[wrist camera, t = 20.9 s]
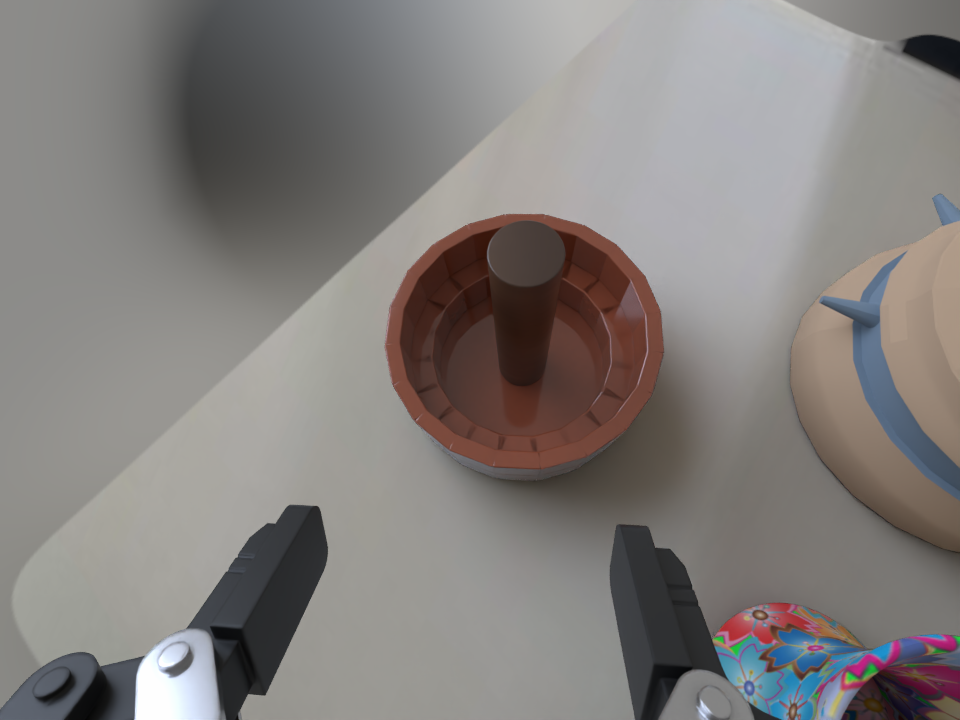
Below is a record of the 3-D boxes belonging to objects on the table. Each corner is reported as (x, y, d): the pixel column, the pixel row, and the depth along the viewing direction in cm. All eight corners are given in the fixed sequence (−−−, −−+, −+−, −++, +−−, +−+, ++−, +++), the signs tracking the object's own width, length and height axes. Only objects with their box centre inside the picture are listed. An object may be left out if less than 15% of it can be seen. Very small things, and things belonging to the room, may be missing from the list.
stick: (497, 385, 28) (484, 286, 16) (499, 341, 29) (488, 219, 17) (545, 386, 27) (565, 287, 16) (546, 342, 28) (565, 219, 17)
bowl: (398, 475, 27) (367, 460, 21) (422, 269, 32) (402, 213, 26) (640, 488, 26) (674, 476, 20) (628, 272, 30) (654, 213, 25)
